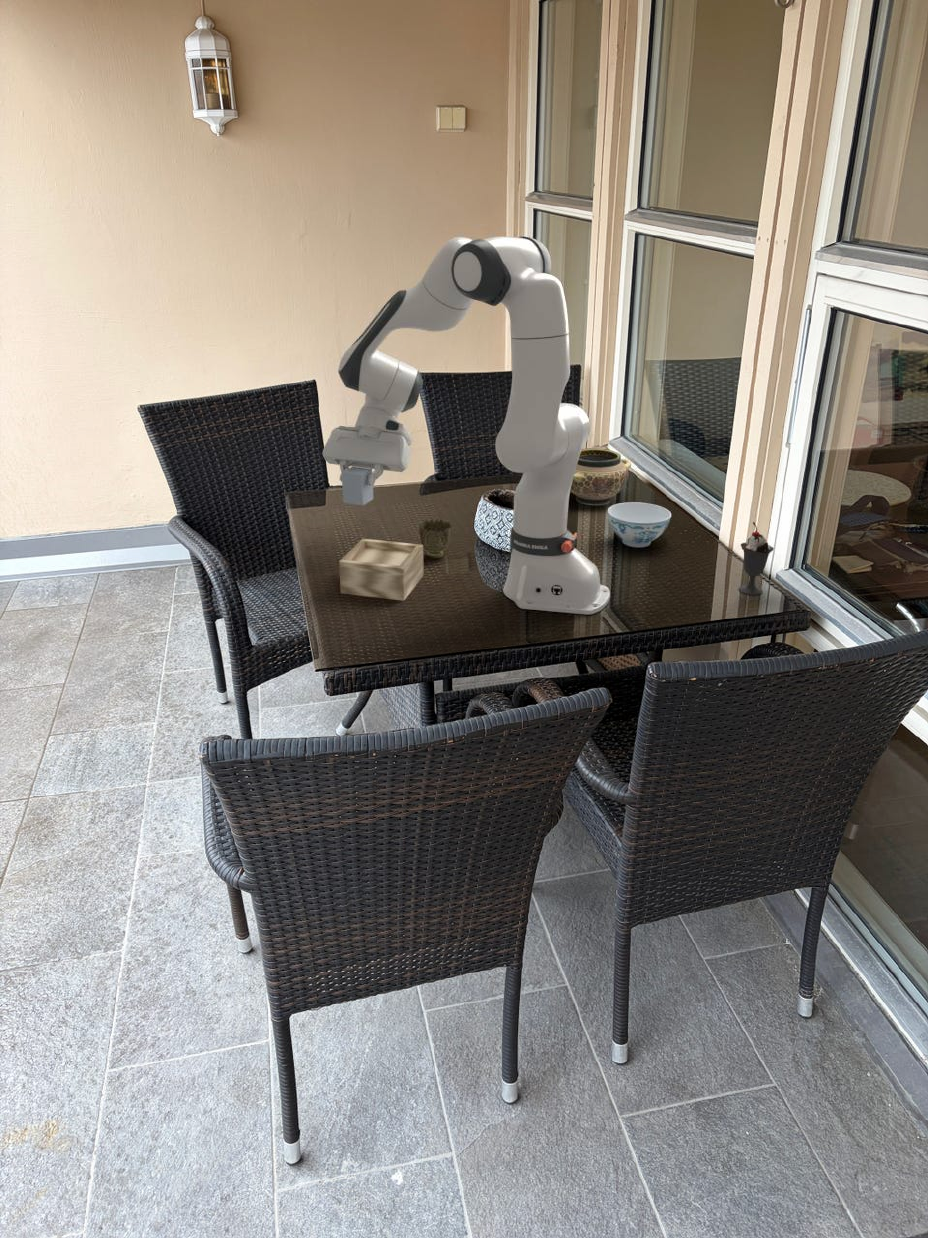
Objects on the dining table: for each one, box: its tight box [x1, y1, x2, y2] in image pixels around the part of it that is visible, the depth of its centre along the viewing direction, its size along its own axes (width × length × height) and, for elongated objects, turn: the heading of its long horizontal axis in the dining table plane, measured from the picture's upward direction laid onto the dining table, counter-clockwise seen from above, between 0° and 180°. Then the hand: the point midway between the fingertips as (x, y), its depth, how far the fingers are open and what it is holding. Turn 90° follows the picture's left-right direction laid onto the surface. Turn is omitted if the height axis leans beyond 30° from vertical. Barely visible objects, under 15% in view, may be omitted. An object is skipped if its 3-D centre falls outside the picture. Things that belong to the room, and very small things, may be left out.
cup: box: [418, 518, 452, 560], centre depth 214 cm, size 8×7×8 cm
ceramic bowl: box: [570, 447, 632, 506], centre depth 251 cm, size 24×18×15 cm
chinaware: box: [607, 501, 672, 548], centre depth 224 cm, size 15×15×8 cm
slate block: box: [341, 466, 374, 506], centre depth 209 cm, size 5×5×7 cm
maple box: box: [338, 538, 424, 602], centre depth 200 cm, size 14×14×8 cm
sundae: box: [738, 521, 775, 596], centre depth 197 cm, size 7×7×15 cm
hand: (356, 482), depth 208 cm, fingers closed on slate block, 5 cm apart
